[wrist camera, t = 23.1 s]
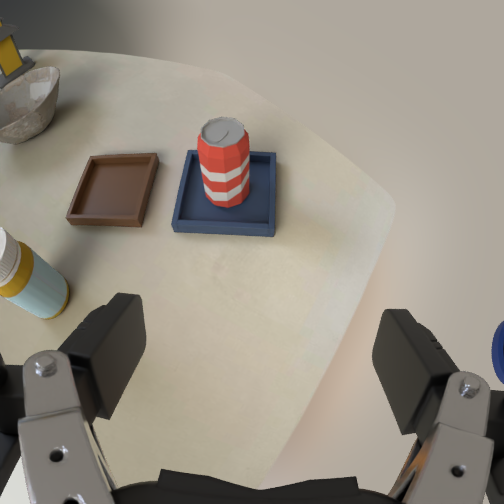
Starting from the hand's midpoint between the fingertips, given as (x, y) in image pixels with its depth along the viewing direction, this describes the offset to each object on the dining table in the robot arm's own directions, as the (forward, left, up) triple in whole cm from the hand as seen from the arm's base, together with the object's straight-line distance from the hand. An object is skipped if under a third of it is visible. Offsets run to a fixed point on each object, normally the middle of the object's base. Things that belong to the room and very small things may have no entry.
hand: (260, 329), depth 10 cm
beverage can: (+5, -25, -27) cm, 38 cm away
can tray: (+5, -25, -28) cm, 38 cm away
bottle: (+29, -7, -28) cm, 41 cm away
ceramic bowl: (+52, -44, -28) cm, 74 cm away
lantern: (+84, -78, -28) cm, 118 cm away
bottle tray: (+23, -25, -28) cm, 44 cm away
